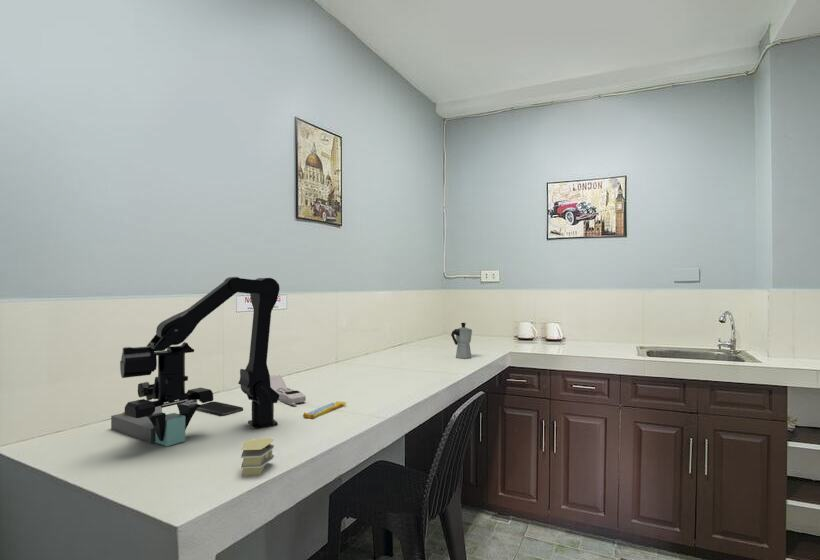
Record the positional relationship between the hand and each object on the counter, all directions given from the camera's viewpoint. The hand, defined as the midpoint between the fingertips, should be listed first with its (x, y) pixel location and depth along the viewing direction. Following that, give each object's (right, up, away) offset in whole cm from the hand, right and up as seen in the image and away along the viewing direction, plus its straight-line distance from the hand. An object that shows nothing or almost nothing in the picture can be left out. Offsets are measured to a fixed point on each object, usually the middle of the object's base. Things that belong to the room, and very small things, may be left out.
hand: (171, 437), depth 109 cm
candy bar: (+32, -2, +27) cm, 42 cm away
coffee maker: (+84, -3, +126) cm, 151 cm away
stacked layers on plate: (+26, -2, -16) cm, 30 cm away
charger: (-1, -1, +1) cm, 2 cm away
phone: (-1, -2, +29) cm, 29 cm away
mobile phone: (+16, -2, +43) cm, 46 cm away
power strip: (-11, -1, +8) cm, 14 cm away
